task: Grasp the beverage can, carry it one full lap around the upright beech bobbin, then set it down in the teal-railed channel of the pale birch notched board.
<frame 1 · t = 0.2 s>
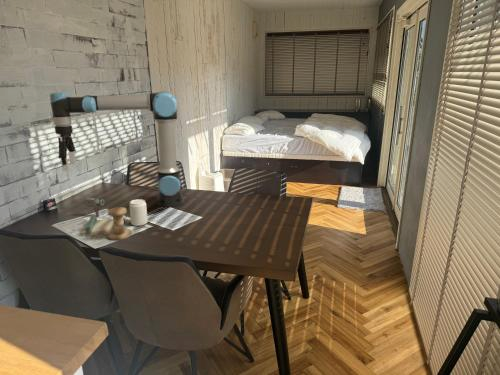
hand: (69, 167, 176), 28 cm above the table, fingers open, 13 cm apart
mechanical component: (97, 216, 187), on the table
beverage can: (139, 223, 178), on the table
bobbin: (120, 235, 164), on the table
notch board: (105, 227, 173), on the table
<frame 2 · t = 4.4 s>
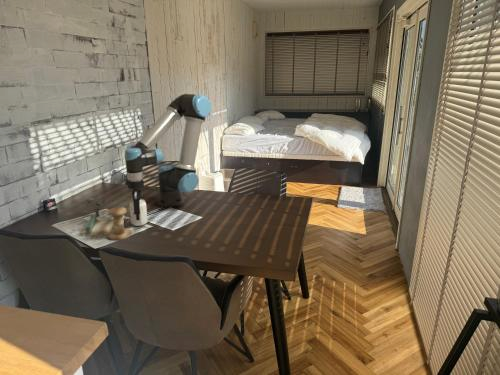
hand: (139, 222, 178), 1 cm above the table, fingers closed on beverage can, 8 cm apart
beverage can: (139, 223, 178), on the table, touching gripper
everything else where it was.
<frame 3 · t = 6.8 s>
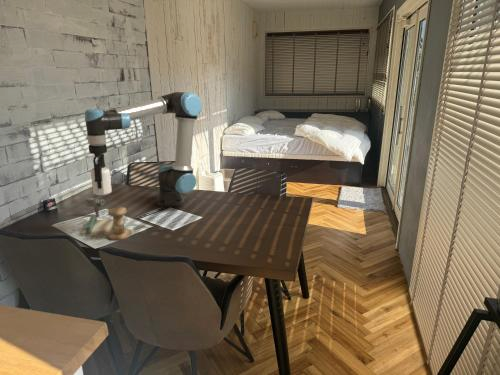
hand: (102, 191, 164), 20 cm above the table, fingers closed on beverage can, 8 cm apart
beverage can: (102, 193, 164), point 19 cm above the table, touching gripper
everything else where it was.
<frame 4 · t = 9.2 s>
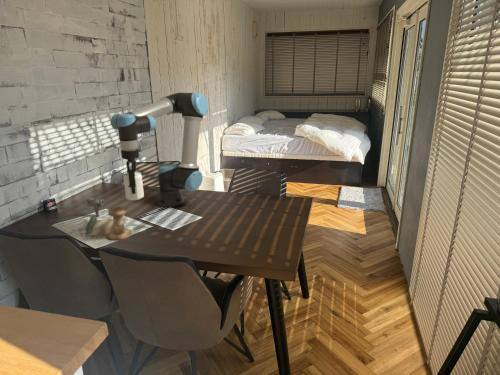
hand: (135, 196, 163), 18 cm above the table, fingers closed on beverage can, 8 cm apart
beverage can: (135, 198, 163), point 17 cm above the table, touching gripper
everything else where it was.
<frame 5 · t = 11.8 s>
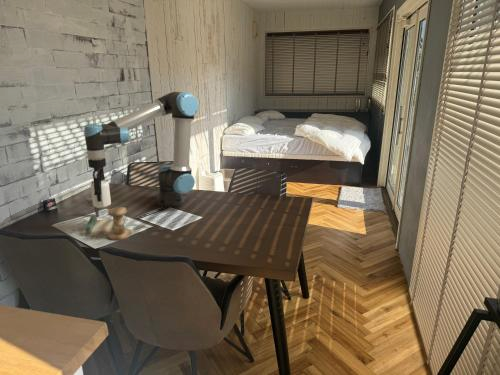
hand: (102, 204, 168), 13 cm above the table, fingers closed on beverage can, 8 cm apart
beverage can: (102, 205, 168), point 12 cm above the table, touching gripper
everything else where it was.
when the fingers open (3 cm above the table, at t = 13.9 s): beverage can drops 1 cm, resting on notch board.
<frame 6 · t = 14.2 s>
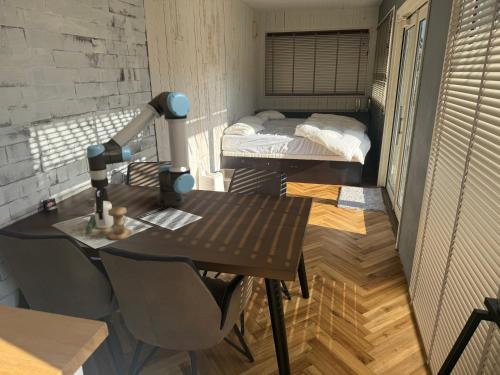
hand: (104, 220, 170), 5 cm above the table, fingers open, 12 cm apart
beverage can: (105, 226, 171), point 1 cm above the table, touching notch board
everything else where it was.
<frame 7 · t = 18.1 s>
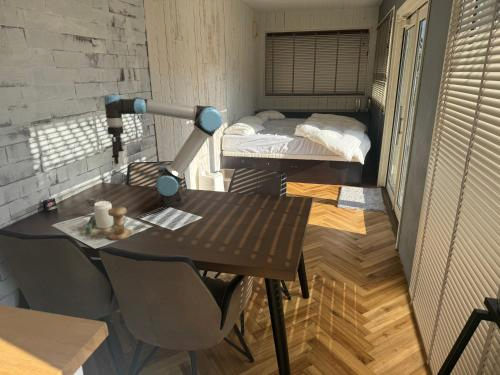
hand: (119, 166, 183), 27 cm above the table, fingers open, 13 cm apart
nothing on the table moved.
at the end: beverage can inside the target area on the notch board (0.3 cm from its centre), point 1.0 cm above the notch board's base; beverage can tilted 0°; the gripper is holding nothing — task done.
